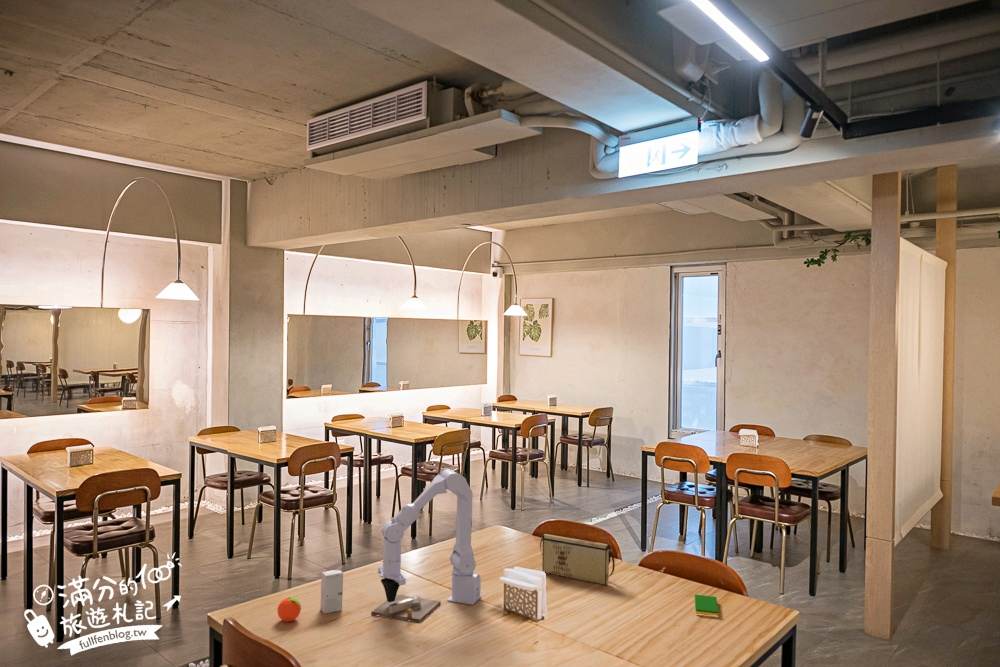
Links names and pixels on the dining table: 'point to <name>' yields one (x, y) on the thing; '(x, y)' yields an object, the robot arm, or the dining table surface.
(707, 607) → the dish sponge
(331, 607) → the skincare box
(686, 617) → the dining table surface
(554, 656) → the dining table surface
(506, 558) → the dining table surface
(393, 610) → the cap handle
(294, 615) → the clementine
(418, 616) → the base board
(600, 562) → the clutch purse
